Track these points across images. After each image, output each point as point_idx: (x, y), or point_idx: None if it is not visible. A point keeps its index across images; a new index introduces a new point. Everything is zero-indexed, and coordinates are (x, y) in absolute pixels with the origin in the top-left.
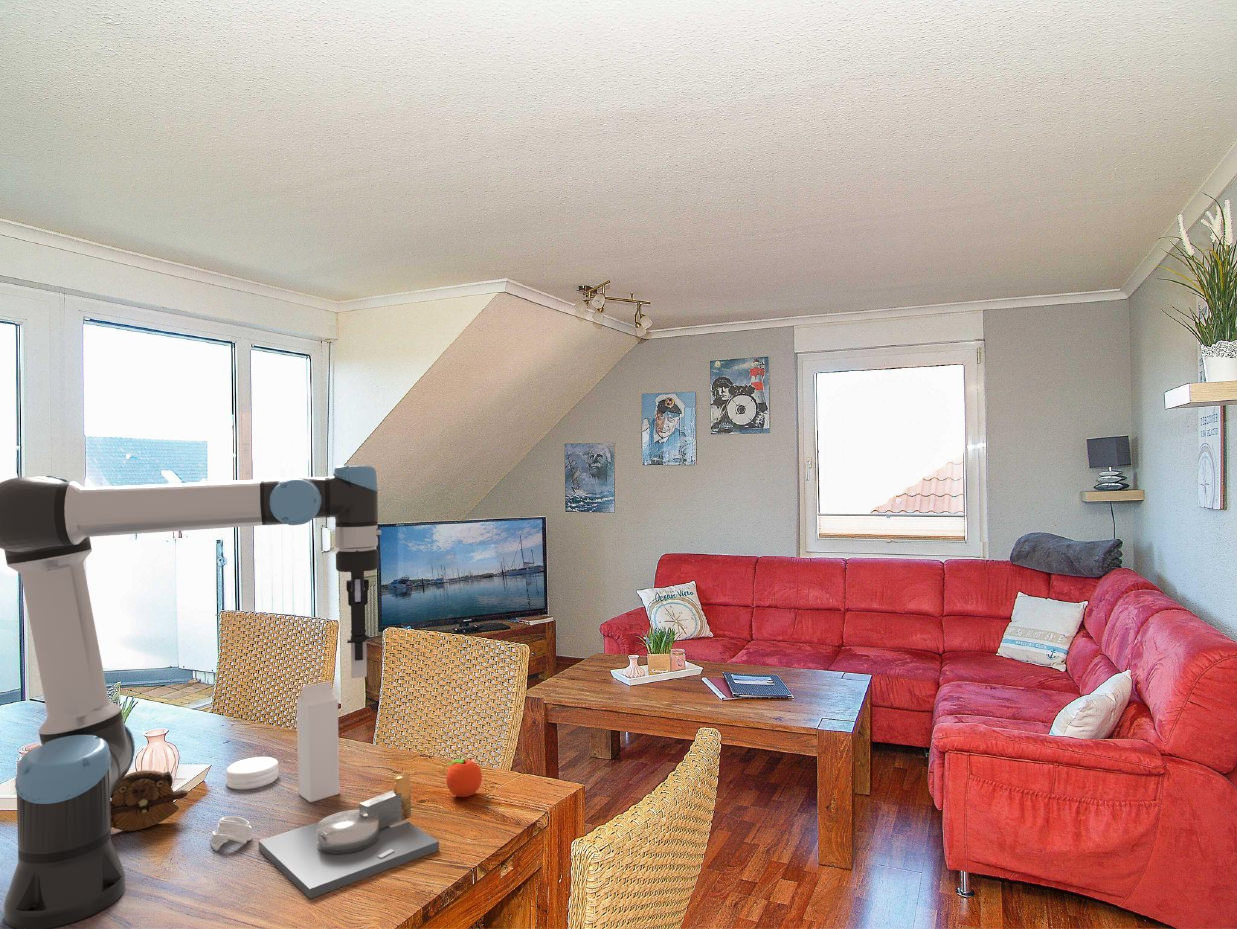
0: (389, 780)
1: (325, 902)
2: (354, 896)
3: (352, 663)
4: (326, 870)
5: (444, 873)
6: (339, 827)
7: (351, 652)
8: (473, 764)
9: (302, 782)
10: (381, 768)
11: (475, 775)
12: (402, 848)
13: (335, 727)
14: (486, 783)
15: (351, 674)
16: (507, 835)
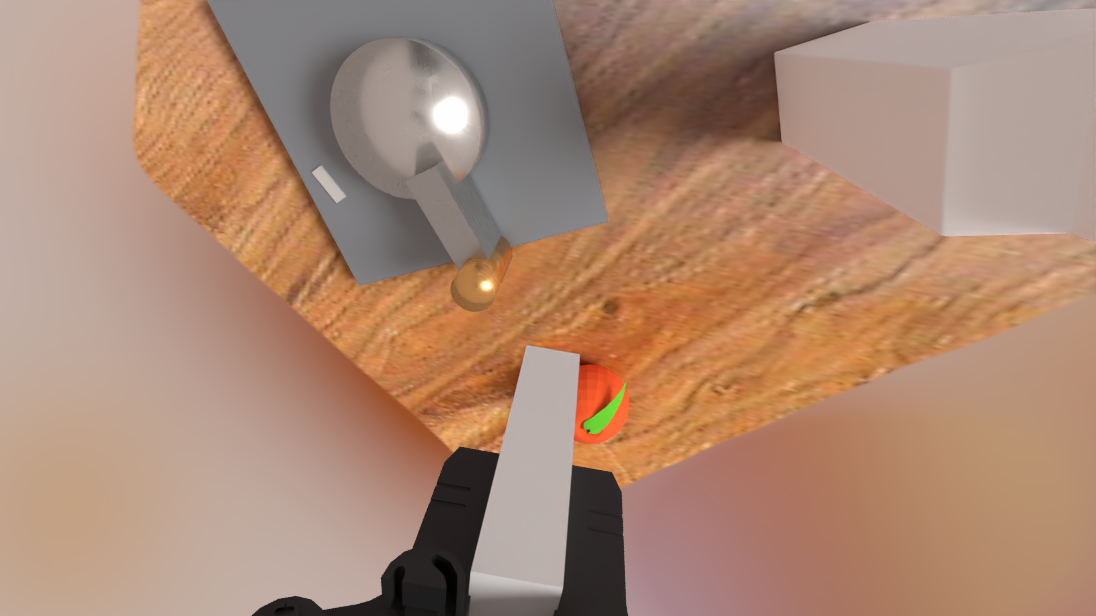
0: (783, 273)
1: (203, 33)
2: (219, 96)
3: (511, 417)
4: (284, 47)
5: (276, 264)
6: (380, 99)
7: (492, 484)
8: (574, 438)
9: (852, 33)
10: (885, 272)
11: None
12: (347, 219)
13: (871, 183)
14: (628, 427)
15: (523, 359)
16: (387, 385)
